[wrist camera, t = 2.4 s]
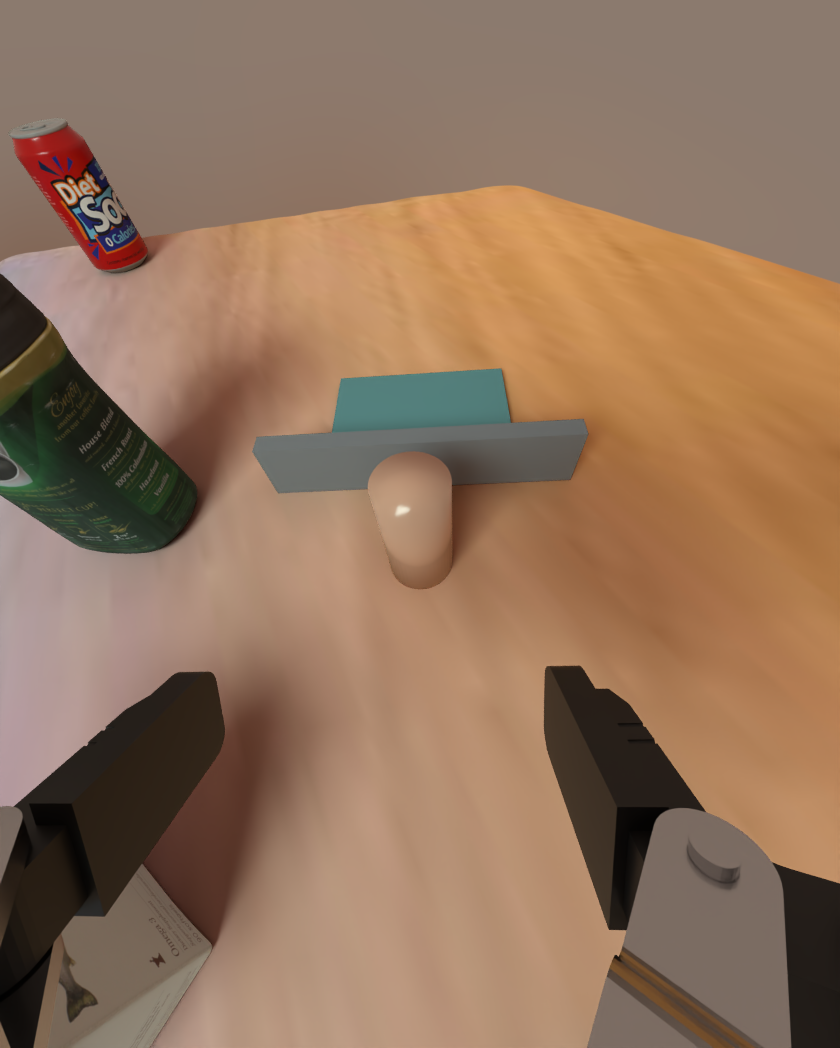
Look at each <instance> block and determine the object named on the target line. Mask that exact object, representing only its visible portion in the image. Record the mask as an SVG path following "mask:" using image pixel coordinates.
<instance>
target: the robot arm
mask: <svg viewBox="0 0 840 1048" xmlns="http://www.w3.org/2000/svg"><path fill="white" fill-rule="evenodd" d="M224 733H225V727H224V720H223V715H222V709H221V704H220V698H219V693H218V687H217V682H216V678H215V676H214V674H213V673H211V672H178V673H176V674H174V675H173V676H171V677H170V678H169V679H168V680H167V681H166V682H165V683H164V684H162V685H161V686H160V687H159V688H158V689H157V690H156V691H155V692H153V693H152V694H151V695H150V696H148V697H146V698H145V699H143V700H141V701H140V702H138V703H136V704H134V705H133V706H131V707H129V708H128V709H126V710H125V711H124V712H122V713H121V714H120V715H119V716H118V717H117V718H116V719H114V720H113V721H112V722H111V723H110V724H109V725H107V726H106V729H105V731H101V732H99V733H98V734H97V735H96V736H95V737H94V738H92V739H91V740H90V741H89V742H88V745H87V746H83V747H82V748H81V749H80V750H79V751H77V752H76V753H75V754H74V755H73V756H72V757H70V758H69V759H68V760H67V761H66V762H65V763H64V764H62V765H61V766H60V767H59V768H58V769H57V770H55V771H54V772H53V773H52V774H51V775H50V776H49V777H47V778H46V779H45V780H44V781H43V782H42V783H40V784H39V785H38V786H37V787H36V788H35V789H33V790H32V791H31V792H30V793H29V794H28V795H27V796H25V797H24V798H23V799H22V800H21V801H20V802H18V803H17V804H16V805H15V806H14V807H11V806H3V807H0V1048H47V1047H48V1041H49V1035H50V1030H51V1024H52V1018H53V1012H54V1006H55V1000H56V994H57V988H58V982H59V977H60V971H61V965H62V959H63V953H64V940H63V937H62V934H61V932H62V931H63V930H64V929H65V927H66V926H67V925H68V923H69V922H70V921H71V919H72V918H73V917H74V916H92V917H105V916H106V914H107V913H108V912H109V910H110V909H111V907H112V906H113V904H114V903H115V902H116V900H117V899H118V897H119V896H120V894H121V893H122V892H123V890H124V889H125V887H126V886H127V884H128V883H129V882H130V880H131V879H132V877H133V876H134V874H135V873H136V872H137V870H138V869H139V867H140V866H141V864H142V863H143V862H144V860H145V859H146V857H147V856H148V854H149V853H150V852H151V850H152V849H153V847H154V846H155V844H156V843H157V842H158V840H159V839H160V837H161V836H162V834H163V833H164V831H165V830H166V829H167V827H168V826H169V824H170V823H171V821H172V820H173V819H174V817H175V816H176V814H177V813H178V811H179V810H180V809H181V807H182V806H183V804H184V803H185V801H186V800H187V799H188V797H189V796H190V794H191V793H192V791H193V790H194V789H195V787H196V786H197V784H198V783H199V781H200V780H201V779H202V777H203V776H204V774H205V773H206V771H207V770H208V769H209V767H210V766H211V764H212V763H213V761H214V760H215V759H216V757H217V756H218V754H219V752H220V750H221V747H222V744H223V740H224ZM544 734H545V741H546V746H547V751H548V754H549V758H550V760H551V763H552V766H553V769H554V772H555V775H556V778H557V781H558V784H559V787H560V789H561V792H562V795H563V798H564V801H565V804H566V807H567V810H568V813H569V816H570V818H571V821H572V824H573V827H574V830H575V833H576V836H577V839H578V842H579V845H580V848H581V850H582V853H583V856H584V859H585V862H586V865H587V868H588V871H589V874H590V877H591V879H592V882H593V885H594V888H595V891H596V894H597V897H598V900H599V903H600V906H601V909H602V911H603V914H604V917H605V920H606V923H607V926H608V929H609V930H627V931H626V935H625V939H624V943H623V946H622V950H621V953H620V955H619V957H618V956H617V955H615V956H614V958H613V960H612V962H611V965H610V968H609V971H608V974H607V977H606V981H605V984H604V988H603V991H602V995H601V999H600V1002H599V1006H598V1010H597V1013H596V1017H595V1021H594V1024H593V1028H592V1031H591V1035H590V1039H589V1042H588V1046H587V1048H840V884H839V883H836V882H832V881H829V880H826V879H822V878H819V877H815V876H812V875H809V874H805V873H802V872H798V871H795V870H792V869H789V868H786V867H783V866H780V865H777V864H775V863H773V862H771V861H770V859H769V858H768V857H767V855H766V854H765V853H764V852H763V851H762V849H761V848H760V847H759V846H758V845H757V844H756V843H755V842H754V841H753V840H751V839H750V838H749V837H748V836H747V835H746V834H744V833H743V832H742V831H740V830H739V829H738V828H736V827H734V826H733V825H731V824H730V823H728V822H726V821H724V820H722V819H720V818H719V817H716V816H714V815H711V814H709V813H706V811H705V810H704V808H703V807H702V806H701V804H700V803H699V801H698V800H697V799H696V797H695V796H694V794H693V793H692V792H691V790H690V789H689V787H688V786H687V785H686V783H685V782H684V780H683V779H682V778H681V776H680V775H679V773H678V772H677V771H676V769H675V768H674V766H673V765H672V764H671V762H670V761H669V759H668V758H667V756H666V755H665V754H664V752H663V751H662V749H661V748H660V747H659V745H658V744H655V741H654V738H653V737H652V735H651V734H650V733H649V731H648V730H647V728H646V727H643V723H642V721H641V720H640V719H639V717H638V716H637V714H636V713H635V712H634V710H633V709H632V707H631V706H630V705H629V704H628V703H627V702H626V701H624V700H623V699H622V698H620V697H619V696H618V695H616V694H615V693H614V692H612V691H611V690H610V689H595V687H594V686H593V684H592V683H591V681H590V679H589V678H588V676H587V674H586V673H585V671H584V670H583V668H582V667H581V666H547V667H546V670H545V689H544Z"/></svg>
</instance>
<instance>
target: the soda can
mask: <svg viewBox="0 0 840 1048" xmlns="http://www.w3.org/2000/svg"><path fill="white" fill-rule="evenodd" d="M8 134H9V136H10V137H11V138H12V139H13V144H14V150H15V154H16V156H17V158H18V159H19V161H20V162H21V163H22V165H23V166H24V168H25V169H26V170H27V172H28V173H29V175H30V176H31V178H32V179H33V180H34V182H35V183H36V185H37V186H38V187H39V189H40V190H41V192H42V193H43V195H44V196H45V197H46V199H47V200H48V202H49V203H50V204H51V206H52V207H53V209H54V210H55V211H56V213H57V214H58V216H59V217H60V219H61V220H62V221H63V223H64V224H65V226H66V227H67V228H68V230H69V231H70V233H71V234H72V235H73V237H74V238H75V240H76V241H77V243H78V244H79V245H80V247H81V248H82V250H83V251H84V252H85V254H86V255H87V257H88V258H89V260H90V261H91V262H92V264H93V265H94V266H95V267H96V268H97V269H99V270H102V271H108V272H112V273H119V272H125V271H128V270H131V269H134V268H136V267H138V266H139V265H140V264H142V263H143V261H144V259H145V258H146V256H147V254H148V249H147V247H146V245H145V243H144V241H143V240H142V238H141V237H140V234H139V233H138V231H137V229H136V228H135V226H134V224H133V223H132V221H131V219H130V217H129V216H128V214H127V212H126V210H125V209H124V207H123V205H122V204H121V202H120V200H119V199H118V197H117V195H116V193H115V192H114V190H113V188H112V186H111V185H110V183H109V181H108V180H107V178H106V176H105V174H104V173H103V171H102V169H101V168H100V166H99V164H98V162H97V161H96V159H95V157H94V156H93V154H92V152H91V151H90V149H89V147H88V145H87V144H86V142H85V140H84V139H83V137H82V136H81V135H79V134H78V133H77V132H76V131H74V130H73V129H72V128H71V127H70V126H68V123H67V121H66V120H65V119H48V120H42V121H37V122H32V123H29V124H26V125H22V126H19V127H17V128H14V129H12V130H11V131H9V132H8Z"/></svg>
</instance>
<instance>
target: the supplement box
mask: <svg viewBox="0 0 840 1048" xmlns="http://www.w3.org/2000/svg"><path fill="white" fill-rule="evenodd" d="M61 934H62V937H63V940H64V953H63V959H62V965H61V971H60V977H59V982H58V988H57V994H56V1000H55V1006H54V1012H53V1018H52V1024H51V1030H50V1035H49V1041H48V1047H47V1048H150V1046H151V1045H152V1043H153V1042H154V1040H155V1038H156V1037H157V1035H158V1034H159V1032H160V1031H161V1029H162V1027H163V1026H164V1024H165V1023H166V1021H167V1020H168V1018H169V1016H170V1015H171V1013H172V1012H173V1010H174V1009H175V1007H176V1006H177V1004H178V1002H179V1001H180V999H181V998H182V996H183V995H184V993H185V991H186V990H187V988H188V987H189V985H190V984H191V982H192V981H193V979H194V977H195V976H196V974H197V973H198V971H199V970H200V968H201V967H202V965H203V963H204V962H205V960H206V959H207V957H208V956H209V954H210V952H211V950H212V945H211V943H210V942H209V941H208V940H207V939H206V938H205V937H204V936H203V935H202V934H201V933H200V932H199V931H198V930H197V929H196V928H195V926H194V925H193V924H192V923H191V922H190V921H189V920H188V919H187V918H186V917H185V916H184V914H183V913H182V912H181V911H180V910H179V909H178V908H177V906H176V905H175V904H174V903H173V902H172V900H171V899H170V898H169V897H168V896H167V894H166V893H165V892H164V891H163V889H162V888H161V887H160V886H159V884H158V883H157V882H156V881H155V879H154V878H153V877H152V875H151V874H150V873H149V872H148V870H147V869H146V868H145V867H144V865H143V864H141V866H140V867H139V869H138V870H137V872H136V873H135V874H134V876H133V877H132V879H131V880H130V882H129V883H128V884H127V886H126V887H125V889H124V890H123V892H122V893H121V894H120V896H119V897H118V899H117V900H116V902H115V903H114V904H113V906H112V907H111V909H110V910H109V912H108V913H107V914H106V916H105V917H92V916H74V917H73V918H72V919H71V921H70V922H69V923H68V925H67V926H66V927H65V929H64V930H63V931H62V932H61Z"/></svg>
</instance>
